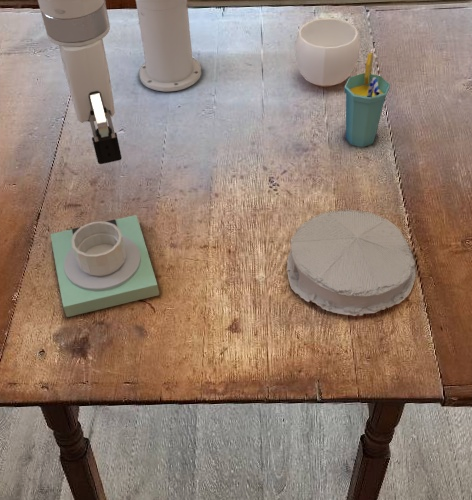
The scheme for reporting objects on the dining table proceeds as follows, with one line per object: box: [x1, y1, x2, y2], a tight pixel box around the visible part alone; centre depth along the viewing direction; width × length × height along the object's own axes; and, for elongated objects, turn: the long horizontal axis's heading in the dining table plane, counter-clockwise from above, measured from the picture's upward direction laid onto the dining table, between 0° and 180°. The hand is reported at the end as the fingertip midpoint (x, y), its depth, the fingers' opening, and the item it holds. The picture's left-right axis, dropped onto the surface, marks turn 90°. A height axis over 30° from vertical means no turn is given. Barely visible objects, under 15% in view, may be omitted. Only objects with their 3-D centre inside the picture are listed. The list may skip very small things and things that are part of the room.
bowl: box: [71, 220, 126, 276], centre depth 101 cm, size 7×7×4 cm
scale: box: [50, 214, 160, 318], centre depth 105 cm, size 16×14×3 cm
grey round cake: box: [286, 207, 417, 317], centre depth 101 cm, size 20×20×7 cm
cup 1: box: [294, 17, 361, 88], centre depth 132 cm, size 12×12×10 cm
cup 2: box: [344, 52, 391, 148], centre depth 117 cm, size 14×8×15 cm, turn 2°
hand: (104, 139), depth 94 cm, fingers open, 9 cm apart
